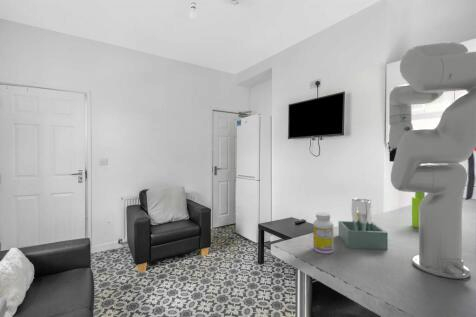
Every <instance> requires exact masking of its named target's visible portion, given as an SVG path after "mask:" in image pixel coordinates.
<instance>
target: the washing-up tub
mask: <svg viewBox="0 0 476 317" xmlns="http://www.w3.org/2000/svg"><path fill="white" fill-rule="evenodd" d="M388 234H389V233H388V232H387V231H386V230H385V229H383V228H381V227H380V226H378V225H377V224H376V223H374V222H372V221H371V224H370V230H369V231H354V225H353V220H352V221H349V220H348V221H347V220H338V237H339V238H340V239H341V241H342V242H343V243H344V244H345V245H346V247H347V248H349V249H366V250H384V251H385V250H387V251H388V245H389V244H388V241H389V240H388Z"/></svg>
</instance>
